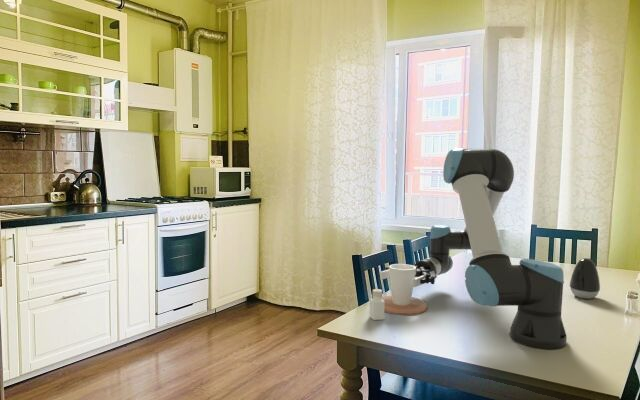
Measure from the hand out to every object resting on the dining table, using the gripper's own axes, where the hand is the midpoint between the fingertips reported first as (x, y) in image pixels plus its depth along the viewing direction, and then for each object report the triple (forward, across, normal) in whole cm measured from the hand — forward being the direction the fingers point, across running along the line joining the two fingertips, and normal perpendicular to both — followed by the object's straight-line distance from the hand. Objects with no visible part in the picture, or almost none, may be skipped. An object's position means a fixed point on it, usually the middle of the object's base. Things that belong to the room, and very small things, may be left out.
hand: (397, 279), depth 163 cm
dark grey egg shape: (-62, -46, -11) cm, 78 cm away
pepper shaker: (+13, -1, -11) cm, 17 cm away
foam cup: (-3, 0, -9) cm, 10 cm away
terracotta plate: (-3, 0, -10) cm, 11 cm away
